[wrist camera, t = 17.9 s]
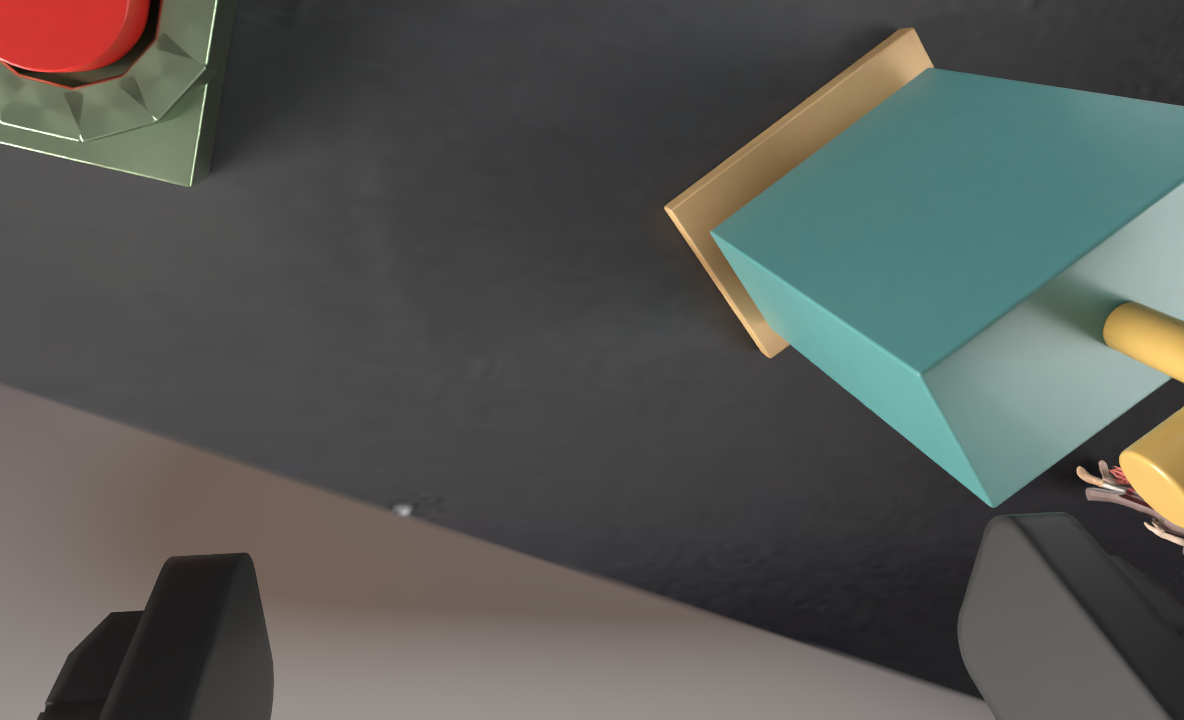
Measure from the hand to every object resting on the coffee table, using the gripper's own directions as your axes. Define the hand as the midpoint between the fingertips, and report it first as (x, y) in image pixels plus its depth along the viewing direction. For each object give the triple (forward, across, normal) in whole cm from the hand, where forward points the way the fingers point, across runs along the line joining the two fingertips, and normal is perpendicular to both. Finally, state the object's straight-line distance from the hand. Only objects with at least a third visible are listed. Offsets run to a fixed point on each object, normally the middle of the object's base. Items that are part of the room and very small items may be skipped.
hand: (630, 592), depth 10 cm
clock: (+18, -10, +2) cm, 21 cm away
